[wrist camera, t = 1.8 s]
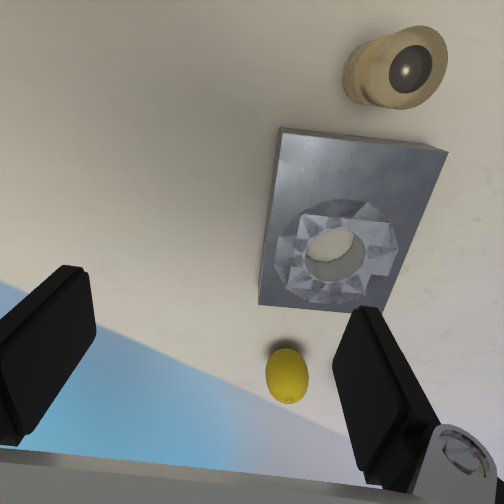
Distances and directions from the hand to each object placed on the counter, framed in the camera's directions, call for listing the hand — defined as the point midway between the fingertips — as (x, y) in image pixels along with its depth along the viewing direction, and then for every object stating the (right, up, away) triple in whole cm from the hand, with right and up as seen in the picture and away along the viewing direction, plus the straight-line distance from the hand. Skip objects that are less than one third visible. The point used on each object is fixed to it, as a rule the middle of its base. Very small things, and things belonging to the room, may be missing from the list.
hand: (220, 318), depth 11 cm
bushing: (+11, +18, +15) cm, 26 cm away
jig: (+10, +6, +22) cm, 25 cm away
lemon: (+6, -11, +32) cm, 34 cm away
